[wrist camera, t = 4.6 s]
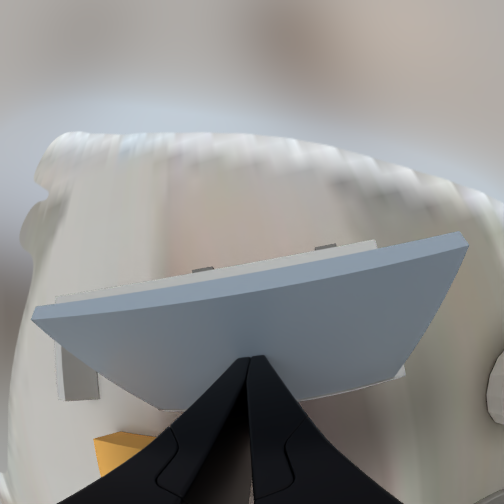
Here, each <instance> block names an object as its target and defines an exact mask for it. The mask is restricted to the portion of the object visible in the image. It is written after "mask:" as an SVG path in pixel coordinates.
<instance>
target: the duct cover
mask: <svg viewBox="0 0 504 504" xmlns="http://www.w3.org/2000/svg"><path fill="white" fill-rule="evenodd" d="M468 247H469V244H468V243H467V241H466V240H465V238H464V237H463V236H462V234H461V233H460V232H459V231H457V232H453V233H449V234H444V235H440V236H435V237H430V238H426V239H421V240H417V241H412V242H407V243H403V244H398V245H393V246H388V247H383V248H379V249H374V250H369V251H364V252H359V253H354V254H349V255H344V256H339V257H334V258H329V259H323V260H318V261H313V262H308V263H303V264H297V265H292V266H287V267H281V268H276V269H270V270H265V271H259V272H254V273H248V274H243V275H237V276H231V277H226V278H220V279H214V280H208V281H202V282H196V283H190V284H184V285H178V286H172V287H166V288H160V289H153V290H147V291H141V292H134V293H128V294H121V295H115V296H108V297H101V298H94V299H88V300H81V301H73V302H66V303H59V304H52V305H44V306H37V307H36V308H35V310H34V313H33V315H32V318H31V320H32V321H33V322H34V323H35V324H36V325H37V326H38V327H40V328H41V329H42V330H43V331H44V332H45V333H46V334H48V335H49V336H50V337H51V338H52V339H54V340H55V341H56V342H57V343H59V344H60V345H61V346H62V347H64V348H65V349H66V350H67V351H69V352H70V353H71V354H73V355H74V356H75V357H77V358H78V359H79V360H81V361H82V362H83V363H85V364H86V365H88V366H89V367H90V368H92V369H93V370H95V371H96V372H98V373H99V374H101V375H102V376H104V377H105V378H107V379H108V380H110V381H111V382H113V383H115V384H116V385H118V386H119V387H121V388H123V389H124V390H126V391H128V392H129V393H131V394H133V395H134V396H136V397H138V398H139V399H141V400H143V401H145V402H147V403H148V404H150V405H152V406H154V407H156V408H158V409H159V410H165V411H186V410H187V409H188V408H189V407H190V406H191V405H192V404H193V403H194V402H195V401H196V400H197V399H198V398H199V397H200V396H201V395H202V394H203V393H204V392H205V391H206V390H207V389H208V388H209V387H210V386H211V385H212V384H213V383H214V382H215V381H216V380H217V379H218V378H219V377H220V376H221V375H222V374H223V373H224V372H225V371H226V370H227V369H228V368H229V367H230V366H231V364H232V363H233V362H234V361H235V360H236V359H238V358H242V357H250V358H251V357H252V356H257V355H265V356H266V358H267V359H268V361H269V362H270V364H271V365H272V367H273V368H274V369H275V371H276V372H277V374H278V375H279V377H280V378H281V379H282V381H283V382H284V384H285V385H286V386H287V388H288V389H289V391H290V392H291V393H292V395H293V396H294V398H295V399H296V400H297V401H302V400H307V399H313V398H318V397H323V396H328V395H333V394H338V393H342V392H346V391H351V390H355V389H359V388H363V387H366V386H370V385H374V384H377V383H381V382H384V381H387V380H391V379H394V377H395V375H396V374H397V373H398V371H399V370H400V368H401V367H402V366H403V364H404V363H405V361H406V360H407V358H408V357H409V356H410V354H411V353H412V351H413V350H414V348H415V347H416V345H417V344H418V342H419V340H420V339H421V337H422V336H423V334H424V333H425V331H426V329H427V328H428V326H429V324H430V323H431V321H432V319H433V318H434V316H435V314H436V312H437V311H438V309H439V307H440V305H441V303H442V301H443V300H444V298H445V296H446V294H447V292H448V290H449V288H450V286H451V284H452V282H453V280H454V278H455V276H456V274H457V272H458V270H459V267H460V265H461V263H462V261H463V259H464V256H465V254H466V252H467V249H468Z"/></svg>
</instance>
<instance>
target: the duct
mask: <svg viewBox="0 0 504 504" xmlns="http://www.w3.org/2000/svg"><path fill="white" fill-rule="evenodd" d="M374 249H378V248H377V245H376V242H375V239H373V240H368V241H363V242H358V243H353V244H348V245H342V246H336V244H331V245H325V246H320V247H315V251H311V252H306V253H300V254H295V255H290V256H284V257H279V258H274V259H268V260H263V261H257V262H252V263H246V264H241V265H235V266H230V267H224V268H219V269H214V268H213V267H207V268H201V269H196V270H192V273H191V274H185V275H180V276H174V277H168V278H162V279H157V280H151V281H145V282H139V283H133V284H128V285H122V286H116V287H110V288H104V289H98V290H92V291H86V292H80V293H74V294H68V295H61V296H55V304H59V303H66V302H73V301H81V300H88V299H94V298H101V297H108V296H115V295H121V294H128V293H134V292H141V291H147V290H153V289H160V288H166V287H172V286H178V285H184V284H190V283H196V282H202V281H208V280H214V279H220V278H226V277H231V276H237V275H243V274H248V273H254V272H259V271H265V270H270V269H276V268H281V267H287V266H292V265H297V264H303V263H308V262H313V261H318V260H323V259H329V258H334V257H339V256H344V255H349V254H354V253H359V252H364V251H369V250H374ZM54 346H55V369H56V382H57V392H58V400H62V401H78V400H92V399H100V398H99V390H98V380H97V372H96V371H95V370H93V369H92V368H90V367H89V366H88V365H86V364H85V363H83V362H82V361H81V360H79V359H78V358H77V357H75V356H74V355H73V354H71V353H70V352H69V351H67V350H66V349H65V348H64V347H62V346H61V345H60V344H59V343H57V342H56V341H55V340H54ZM403 376H406V373H405V366H404V364H403V366H402V367H401V368H400V370H399V371H398V373H397V374H396V375H395V377H394V379H397V378H400V377H403ZM394 379H391V380H394ZM387 381H390V380H387ZM387 381H384V382H387ZM384 382H381V383H384ZM377 384H380V383H377ZM377 384H374V385H377ZM370 386H373V385H370ZM370 386H366V387H370ZM366 387H363V388H366ZM359 389H362V388H359ZM355 390H358V389H355ZM351 391H354V390H351ZM346 392H350V391H346ZM346 392H342V393H346ZM342 393H338V394H342ZM333 395H337V394H333ZM333 395H328V396H333ZM328 396H323V397H328ZM323 397H318V398H323ZM318 398H313V399H318ZM313 399H307V400H313ZM307 400H302V401H307ZM297 402H301V401H297ZM164 411H165V410H164ZM179 412H185V411H179Z"/></svg>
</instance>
